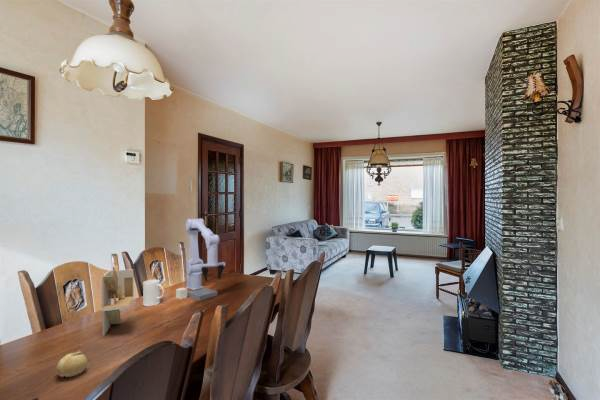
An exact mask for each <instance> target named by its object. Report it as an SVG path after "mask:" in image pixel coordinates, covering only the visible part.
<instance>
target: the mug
mask: <svg viewBox="0 0 600 400" xmlns="http://www.w3.org/2000/svg"><path fill="white" fill-rule="evenodd" d="M160 281H161V280H159V279H147V280H145V281H143V282H142V286H143V287H142V290H143V291H142V292H143V293H142V295H143V297H142V300H143V301H142V306H143V305H144V306H143V307H152V306H153V305H154V306H156V305H159V304H160V303H161V299H162V298H163V296H164V294H165V290H164V289H165V288H164V287H163V285H161V284H160V283H161V282H160ZM160 289H161V290H162V294H161V293H160V292H161V290H160ZM160 294H161V295H160Z"/></svg>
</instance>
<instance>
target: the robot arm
mask: <svg viewBox="0 0 600 400" xmlns="http://www.w3.org/2000/svg"><path fill="white" fill-rule="evenodd" d="M185 230H186V233H188V238H189V252H190V253H189V254H190V259H189V260H188V261H187V262H186V267H185V268H186V269H185V270H186V273H187V275H186V286H185V287H184V288H186V289H187V290H191V291H195V290H199V289H203V288H205V286H203V285H202V276H203V278H204V281H205V282H207V281H208V269H209V268H215V267H216V268H217V279H218V280H220V279H221V276H222V274H223V270H224V269H225V266H226V262H225V261H219V260H218V259H219V258H218V256H219V255H218V252H219V251H218V250H219V249H218V245H219V244H220V241H221V240H220V237H219V235H218V234H214V233H213V231H212V230H211V229H210V228H207V227H206V225H205V220H204V218H188V219H186V222H185ZM199 232H200V233H201V234H200V235H201V236H202V238H203V239H204V241H205V245H206V249H207V251H206V253H207V256H206V257H207V262H206V263H204V260H203V259H201V258H200V253H199V252H200V251H199V244H198V243H199V241H198V233H199ZM218 261H219V262H218ZM207 268H208V269H207ZM202 274H203V275H202Z"/></svg>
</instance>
